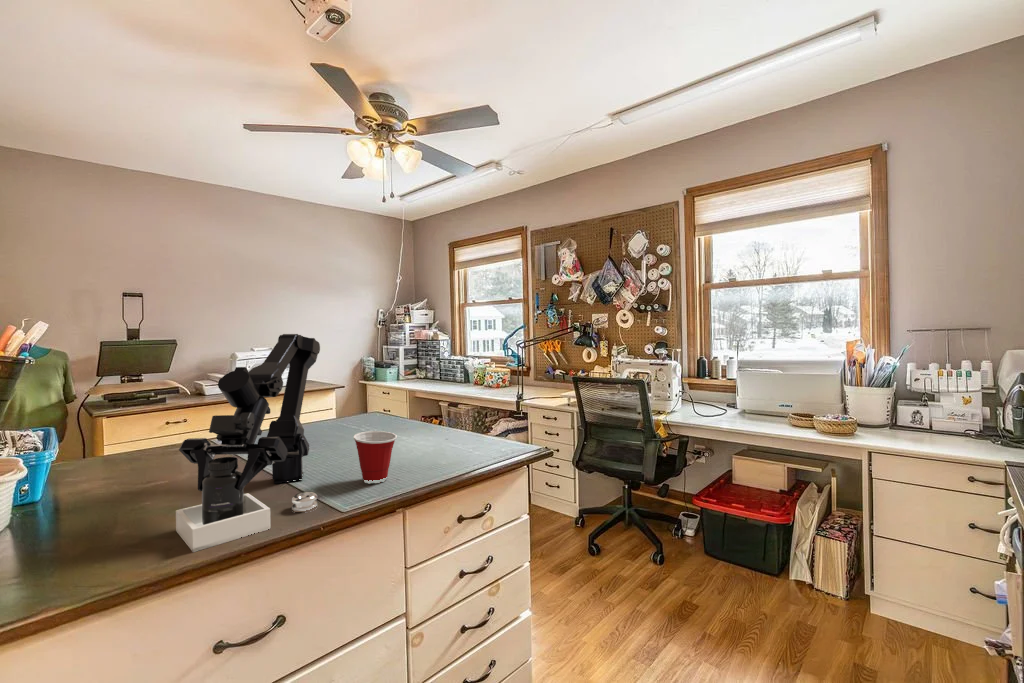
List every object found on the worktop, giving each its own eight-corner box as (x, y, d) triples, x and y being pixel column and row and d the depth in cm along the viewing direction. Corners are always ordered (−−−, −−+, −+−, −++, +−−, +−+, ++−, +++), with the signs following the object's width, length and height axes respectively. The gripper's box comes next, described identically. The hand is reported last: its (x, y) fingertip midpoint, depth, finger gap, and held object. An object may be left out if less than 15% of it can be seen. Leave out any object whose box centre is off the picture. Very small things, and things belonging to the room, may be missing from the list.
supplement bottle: (213, 532, 82) (212, 467, 82) (195, 524, 86) (193, 461, 86) (251, 518, 88) (250, 458, 88) (232, 511, 92) (231, 453, 91)
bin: (248, 511, 96) (248, 493, 96) (270, 528, 87) (270, 508, 87) (176, 530, 87) (175, 510, 86) (193, 552, 78) (192, 529, 78)
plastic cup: (381, 490, 109) (380, 440, 109) (344, 485, 112) (344, 437, 112) (405, 476, 119) (405, 431, 119) (371, 472, 123) (370, 429, 122)
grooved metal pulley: (320, 504, 100) (297, 504, 100) (320, 490, 100) (297, 491, 100) (312, 512, 95) (288, 513, 95) (312, 499, 95) (287, 499, 95)
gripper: (183, 398, 90) (144, 471, 79) (280, 397, 91) (255, 468, 80) (208, 429, 98) (175, 498, 87) (296, 427, 99) (275, 495, 89)
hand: (219, 489), depth 86 cm, fingers closed on supplement bottle, 7 cm apart
